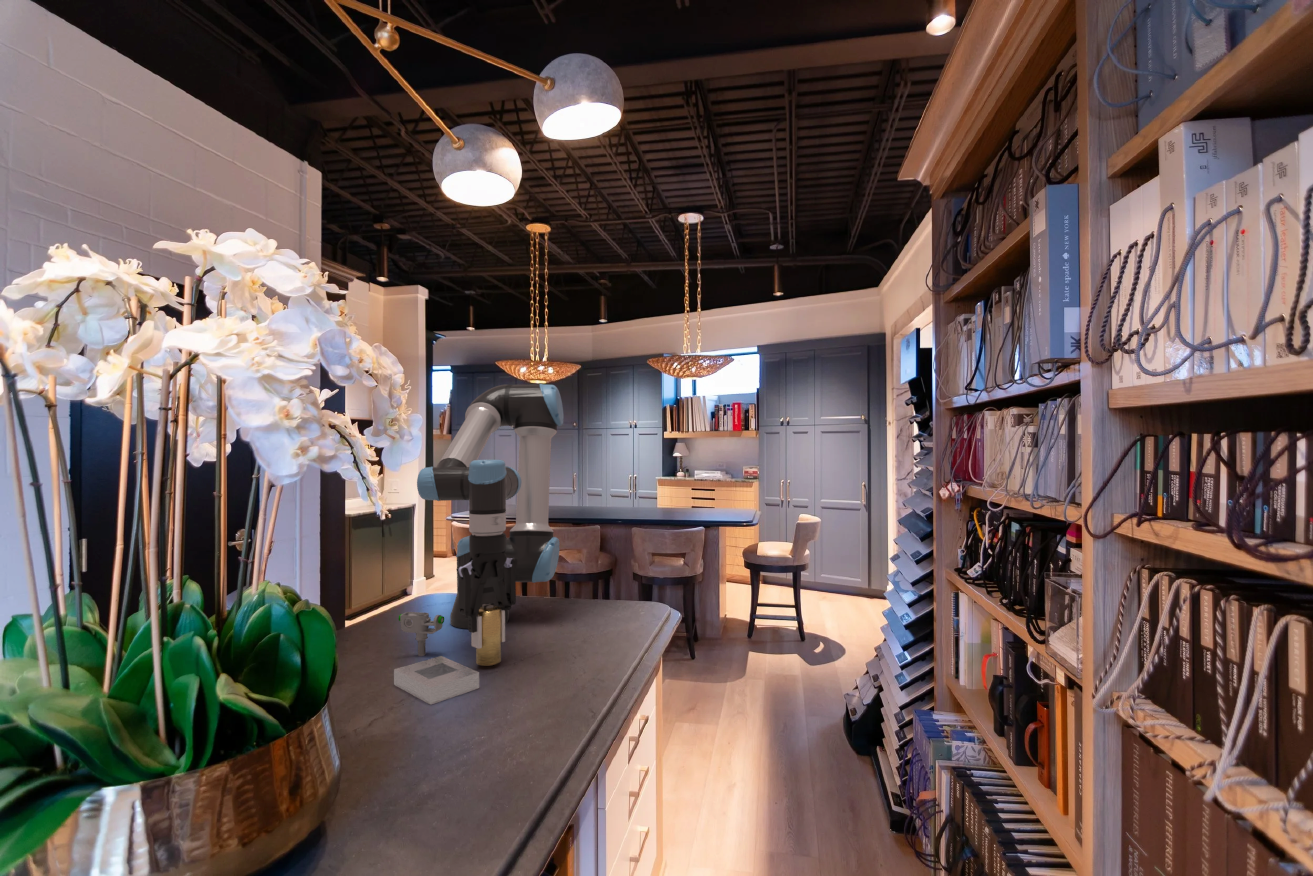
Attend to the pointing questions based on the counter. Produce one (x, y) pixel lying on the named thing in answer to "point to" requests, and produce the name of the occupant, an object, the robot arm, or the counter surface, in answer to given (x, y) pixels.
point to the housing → (436, 679)
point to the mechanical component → (420, 627)
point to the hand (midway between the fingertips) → (488, 643)
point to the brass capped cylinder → (490, 635)
